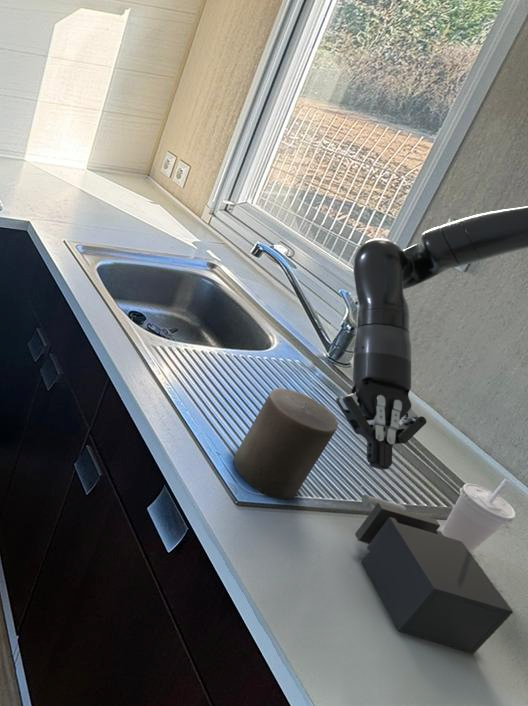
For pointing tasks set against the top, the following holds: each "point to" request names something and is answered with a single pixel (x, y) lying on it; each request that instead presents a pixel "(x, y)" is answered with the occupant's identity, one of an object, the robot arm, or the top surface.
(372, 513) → the dark grey angled piece
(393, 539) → the dark grey box
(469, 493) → the smoothie
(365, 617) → the top surface
